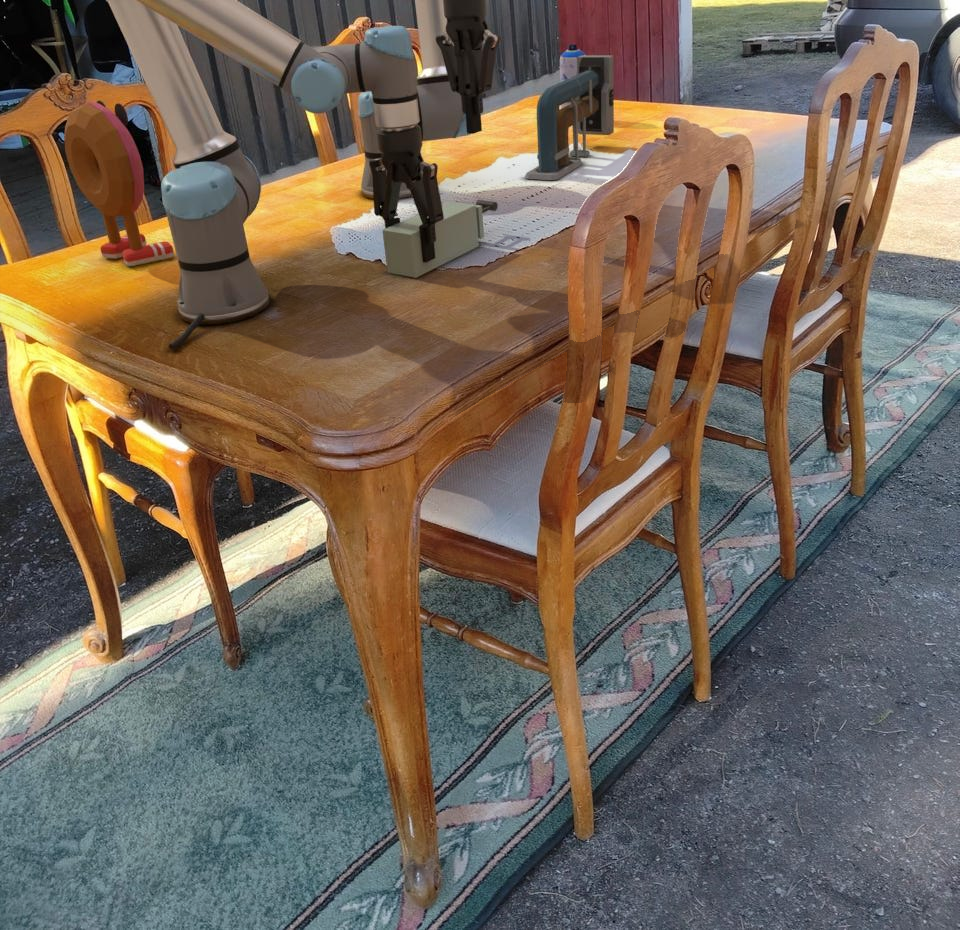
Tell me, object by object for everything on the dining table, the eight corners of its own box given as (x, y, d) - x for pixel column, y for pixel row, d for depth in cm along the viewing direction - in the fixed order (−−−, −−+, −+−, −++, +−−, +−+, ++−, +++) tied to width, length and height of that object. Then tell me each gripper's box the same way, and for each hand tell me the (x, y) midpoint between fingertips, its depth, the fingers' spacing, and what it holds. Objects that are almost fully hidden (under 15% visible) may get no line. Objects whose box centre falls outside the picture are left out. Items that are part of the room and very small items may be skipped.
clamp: (556, 180, 222) (553, 82, 211) (522, 178, 225) (517, 81, 215) (613, 144, 247) (613, 55, 237) (582, 143, 251) (580, 55, 240)
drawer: (479, 225, 194) (477, 194, 191) (502, 228, 191) (500, 197, 188) (402, 262, 178) (398, 229, 175) (425, 266, 175) (422, 232, 172)
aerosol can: (559, 122, 275) (557, 47, 265) (562, 117, 282) (559, 42, 272) (587, 121, 274) (585, 45, 263) (589, 115, 280) (587, 41, 270)
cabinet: (451, 241, 189) (447, 201, 185) (479, 246, 185) (475, 205, 181) (387, 272, 176) (382, 229, 172) (415, 277, 172) (411, 234, 168)
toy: (187, 258, 192) (149, 99, 177) (141, 273, 186) (98, 110, 171) (132, 241, 205) (93, 92, 190) (88, 254, 199) (43, 101, 184)
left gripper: (457, 125, 161) (468, 258, 173) (369, 118, 172) (385, 244, 183) (429, 134, 156) (443, 271, 168) (340, 127, 167) (359, 256, 178)
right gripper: (506, -11, 168) (514, 129, 180) (447, -10, 175) (458, 125, 187) (481, -6, 163) (491, 138, 175) (421, -5, 170) (434, 134, 182)
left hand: (413, 257), depth 176 cm, fingers closed on cabinet, 7 cm apart
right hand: (474, 131), depth 181 cm, fingers closed
